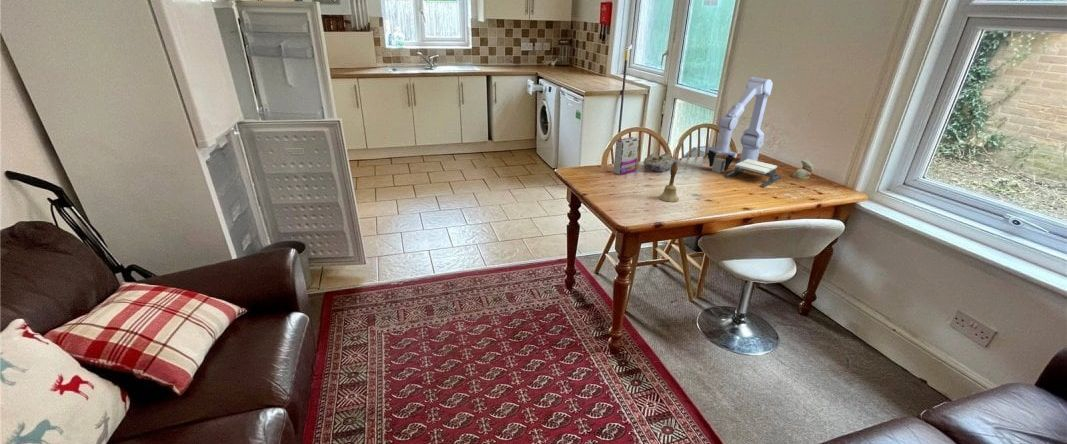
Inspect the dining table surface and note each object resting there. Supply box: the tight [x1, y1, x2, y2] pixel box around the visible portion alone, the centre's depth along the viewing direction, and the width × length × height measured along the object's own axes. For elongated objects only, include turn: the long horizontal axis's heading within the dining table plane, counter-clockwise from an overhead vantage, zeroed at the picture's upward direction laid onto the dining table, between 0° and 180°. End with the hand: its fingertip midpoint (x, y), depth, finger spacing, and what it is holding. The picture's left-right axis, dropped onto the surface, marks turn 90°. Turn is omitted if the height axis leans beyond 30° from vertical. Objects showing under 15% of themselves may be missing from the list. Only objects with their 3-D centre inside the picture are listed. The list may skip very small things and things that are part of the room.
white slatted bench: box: [725, 159, 782, 189], centre depth 219 cm, size 20×18×6 cm
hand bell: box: [658, 161, 680, 203], centre depth 190 cm, size 8×8×16 cm
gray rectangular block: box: [711, 157, 726, 174], centre depth 227 cm, size 4×4×6 cm
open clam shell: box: [791, 157, 815, 180], centre depth 221 cm, size 6×8×10 cm
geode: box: [642, 153, 678, 173], centre depth 227 cm, size 17×9×15 cm
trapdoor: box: [734, 159, 778, 175], centre depth 217 cm, size 14×14×1 cm
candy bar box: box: [612, 136, 640, 176], centre depth 220 cm, size 11×5×16 cm, turn 126°
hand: (718, 168), depth 227 cm, fingers open, 7 cm apart
